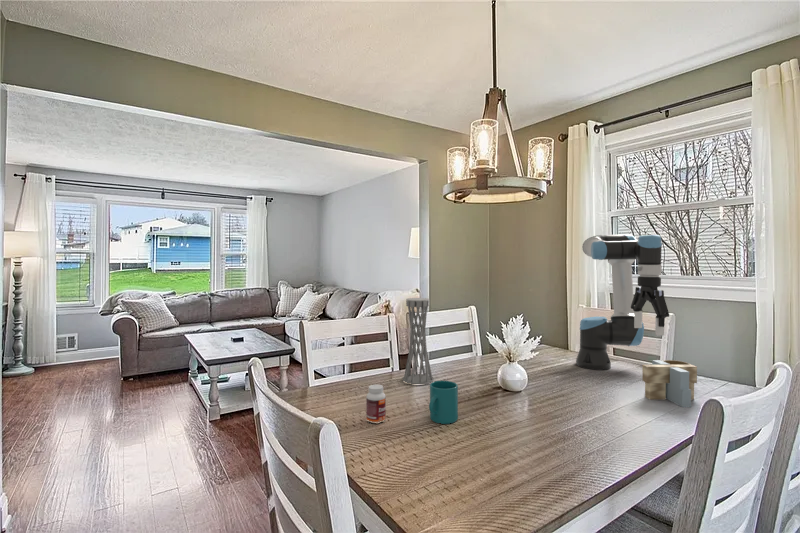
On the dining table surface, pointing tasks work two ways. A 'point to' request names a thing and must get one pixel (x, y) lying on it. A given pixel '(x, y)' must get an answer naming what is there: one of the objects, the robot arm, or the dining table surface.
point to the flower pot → (676, 362)
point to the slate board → (677, 385)
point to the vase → (418, 343)
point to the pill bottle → (375, 404)
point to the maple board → (664, 379)
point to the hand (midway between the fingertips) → (648, 331)
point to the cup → (443, 402)
